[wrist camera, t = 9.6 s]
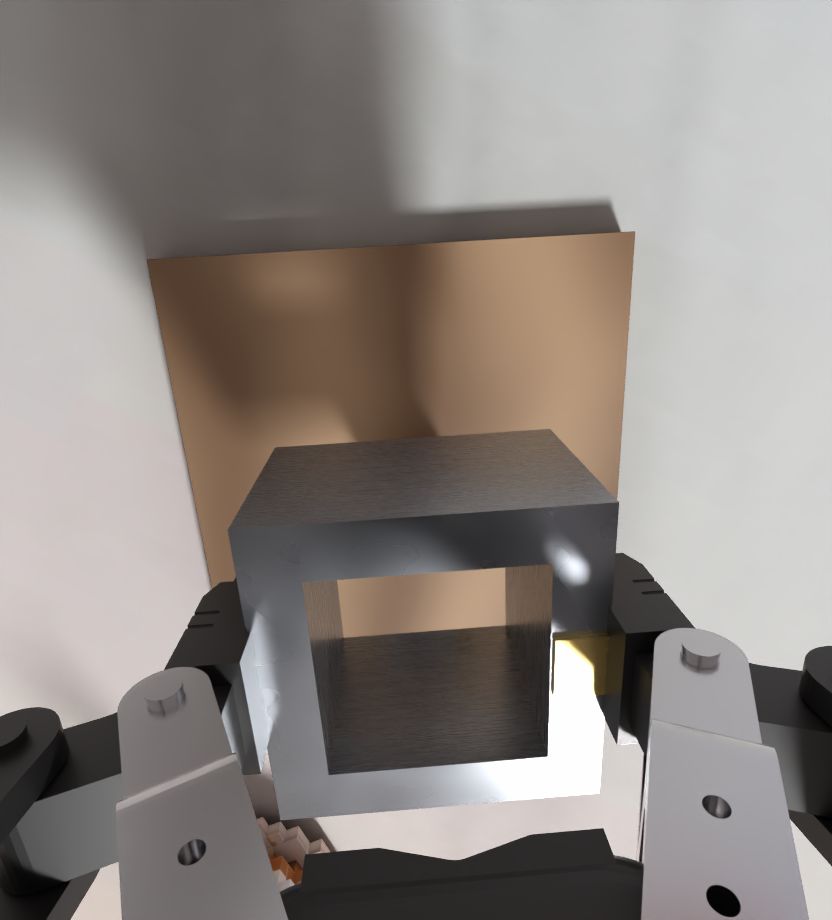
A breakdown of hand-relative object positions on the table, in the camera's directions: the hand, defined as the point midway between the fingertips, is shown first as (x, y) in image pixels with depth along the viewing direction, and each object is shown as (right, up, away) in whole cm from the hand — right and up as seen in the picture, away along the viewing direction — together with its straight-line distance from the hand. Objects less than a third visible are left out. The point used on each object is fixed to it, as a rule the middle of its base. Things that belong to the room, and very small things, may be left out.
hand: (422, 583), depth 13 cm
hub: (0, 0, +1) cm, 1 cm away
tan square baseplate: (0, +3, +7) cm, 8 cm away
